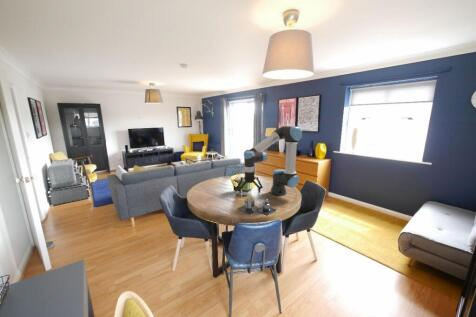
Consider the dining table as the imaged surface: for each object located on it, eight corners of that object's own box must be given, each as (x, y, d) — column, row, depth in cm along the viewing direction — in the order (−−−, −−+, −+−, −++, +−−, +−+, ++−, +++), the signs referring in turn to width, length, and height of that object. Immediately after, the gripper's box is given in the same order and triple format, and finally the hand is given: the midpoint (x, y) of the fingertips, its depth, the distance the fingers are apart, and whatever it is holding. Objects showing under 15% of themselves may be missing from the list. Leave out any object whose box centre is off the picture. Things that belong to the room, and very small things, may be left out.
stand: (265, 205, 167) (265, 194, 165) (277, 210, 158) (277, 199, 156) (255, 210, 159) (255, 198, 157) (267, 215, 150) (267, 203, 148)
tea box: (251, 192, 197) (251, 178, 194) (247, 196, 188) (247, 181, 185) (237, 190, 203) (237, 176, 200) (233, 193, 194) (233, 179, 191)
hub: (249, 203, 171) (249, 193, 169) (261, 209, 161) (261, 197, 159) (237, 208, 162) (237, 197, 160) (249, 214, 152) (249, 203, 150)
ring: (244, 202, 165) (244, 197, 164) (254, 202, 164) (254, 197, 163) (244, 207, 157) (244, 201, 156) (254, 207, 156) (254, 201, 155)
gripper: (233, 172, 152) (234, 198, 156) (266, 172, 151) (266, 198, 155) (233, 170, 159) (234, 195, 164) (265, 169, 158) (265, 194, 163)
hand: (250, 196), depth 159 cm, fingers open, 13 cm apart
